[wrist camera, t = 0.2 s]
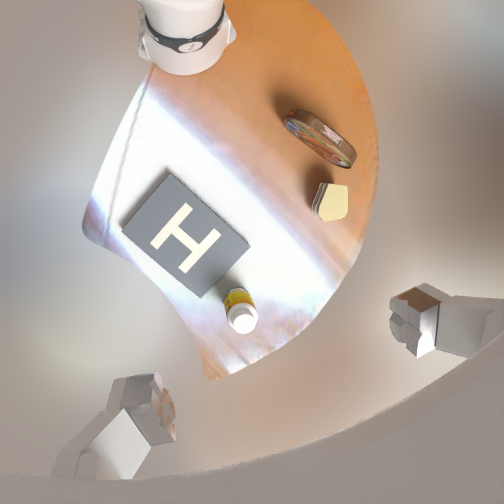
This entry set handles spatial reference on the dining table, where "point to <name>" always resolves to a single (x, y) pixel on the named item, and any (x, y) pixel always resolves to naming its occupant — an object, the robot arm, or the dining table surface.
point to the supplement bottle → (240, 310)
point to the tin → (320, 138)
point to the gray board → (185, 236)
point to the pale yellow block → (330, 202)
